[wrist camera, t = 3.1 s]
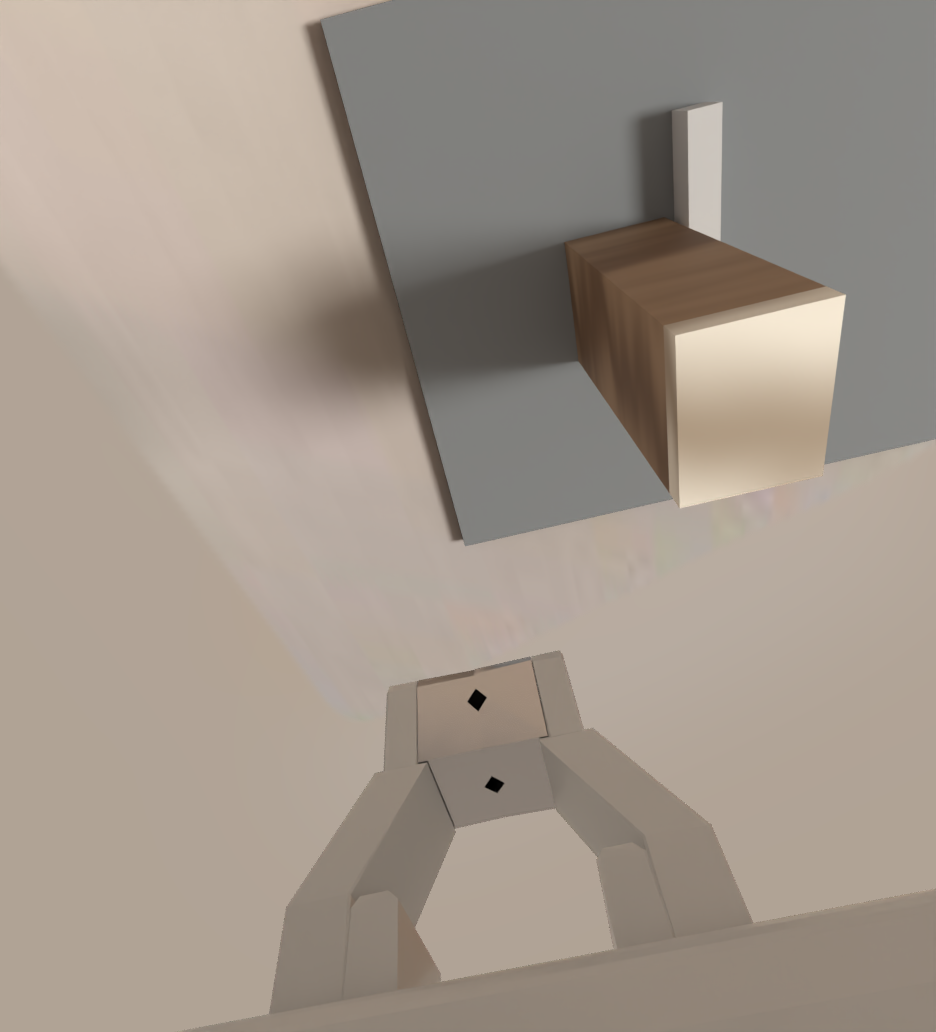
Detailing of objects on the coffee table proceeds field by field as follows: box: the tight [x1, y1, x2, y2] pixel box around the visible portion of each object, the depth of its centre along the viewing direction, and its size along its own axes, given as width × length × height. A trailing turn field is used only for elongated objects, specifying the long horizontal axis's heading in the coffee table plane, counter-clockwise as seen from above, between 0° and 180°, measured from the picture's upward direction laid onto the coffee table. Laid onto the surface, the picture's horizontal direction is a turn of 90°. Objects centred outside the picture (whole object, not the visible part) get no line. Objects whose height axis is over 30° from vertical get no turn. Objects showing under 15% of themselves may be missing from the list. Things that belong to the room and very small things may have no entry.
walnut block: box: [564, 217, 846, 508], centre depth 21 cm, size 5×4×12 cm
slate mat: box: [321, 0, 936, 546], centre depth 25 cm, size 22×26×2 cm
